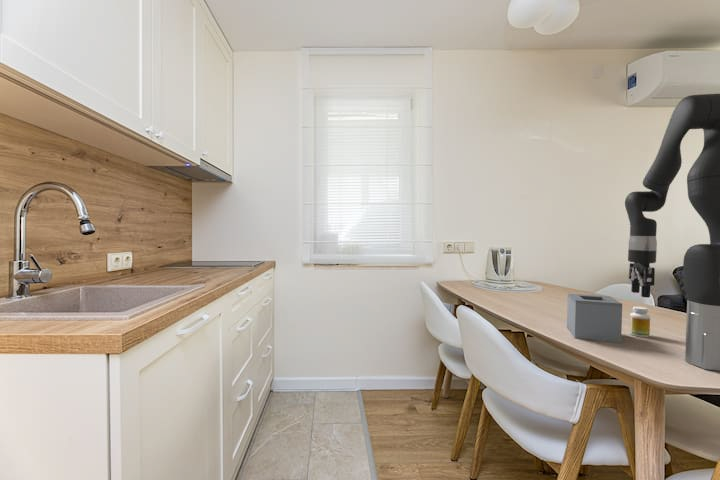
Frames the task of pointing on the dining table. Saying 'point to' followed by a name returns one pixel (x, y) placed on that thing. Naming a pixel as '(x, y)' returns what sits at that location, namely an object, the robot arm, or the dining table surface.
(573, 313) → the drop box
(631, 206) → the robot arm
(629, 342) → the dining table surface
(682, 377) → the dining table surface
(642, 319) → the supplement bottle
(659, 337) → the dining table surface
